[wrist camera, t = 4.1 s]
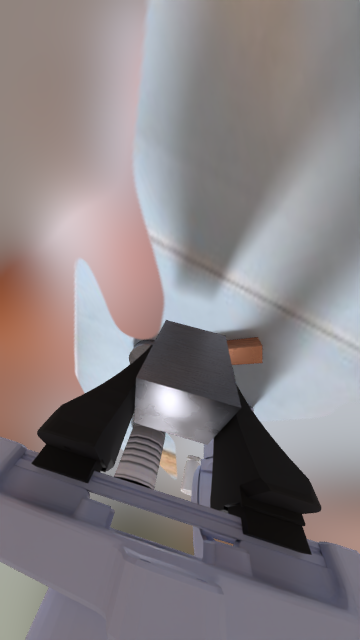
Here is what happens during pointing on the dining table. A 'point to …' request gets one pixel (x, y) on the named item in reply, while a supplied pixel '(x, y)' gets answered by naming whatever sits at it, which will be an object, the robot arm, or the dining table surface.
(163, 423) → the dark grey cube
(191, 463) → the cup
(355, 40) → the dining table surface
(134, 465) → the can
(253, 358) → the ratchet
